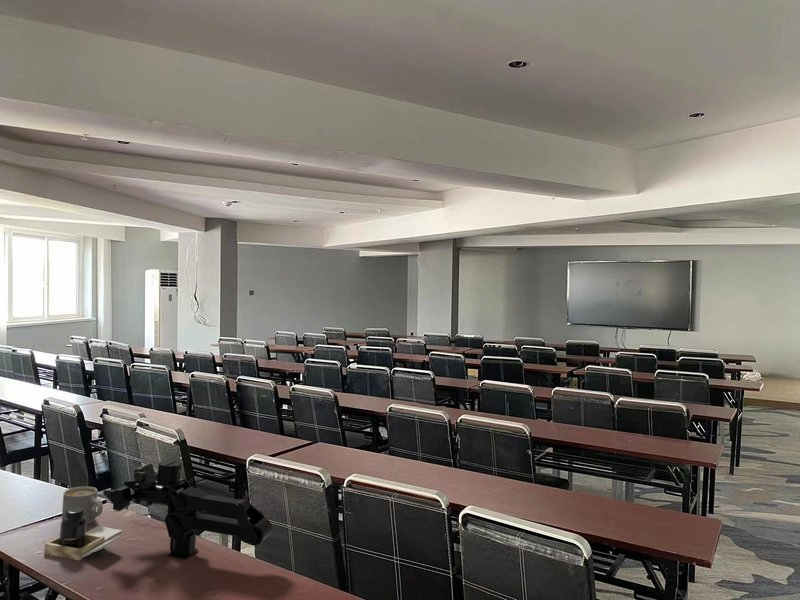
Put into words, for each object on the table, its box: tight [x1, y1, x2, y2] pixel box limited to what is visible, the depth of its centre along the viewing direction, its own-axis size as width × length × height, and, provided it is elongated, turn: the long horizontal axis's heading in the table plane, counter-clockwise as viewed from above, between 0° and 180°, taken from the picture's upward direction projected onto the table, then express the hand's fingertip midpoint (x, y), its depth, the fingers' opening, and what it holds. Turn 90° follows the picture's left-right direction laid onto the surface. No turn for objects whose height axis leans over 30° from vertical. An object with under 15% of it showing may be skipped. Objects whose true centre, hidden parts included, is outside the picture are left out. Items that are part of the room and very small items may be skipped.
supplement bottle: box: [59, 507, 88, 549], centre depth 172 cm, size 7×7×12 cm
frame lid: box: [81, 535, 123, 559], centre depth 170 cm, size 7×8×4 cm
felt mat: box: [86, 525, 123, 542], centre depth 184 cm, size 9×9×1 cm
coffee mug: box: [61, 486, 104, 526], centre depth 192 cm, size 13×10×10 cm
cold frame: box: [43, 533, 106, 561], centre depth 172 cm, size 12×10×3 cm
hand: (114, 487), depth 180 cm, fingers open, 9 cm apart
